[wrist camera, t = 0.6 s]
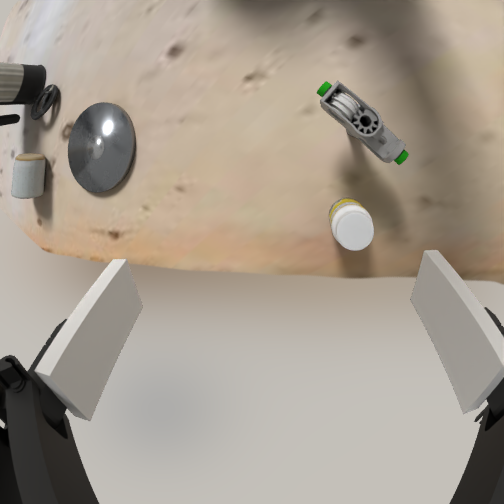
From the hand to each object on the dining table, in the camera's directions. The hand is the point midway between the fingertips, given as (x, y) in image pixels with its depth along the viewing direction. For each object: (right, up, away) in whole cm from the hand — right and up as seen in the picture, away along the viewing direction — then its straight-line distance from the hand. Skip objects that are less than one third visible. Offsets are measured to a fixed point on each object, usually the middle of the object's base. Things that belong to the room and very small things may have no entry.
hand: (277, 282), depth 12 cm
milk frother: (-44, +35, +26) cm, 62 cm away
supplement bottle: (+11, +6, +23) cm, 26 cm away
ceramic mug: (-45, +18, +32) cm, 59 cm away
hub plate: (-26, +18, +27) cm, 42 cm away
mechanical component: (+11, +16, +19) cm, 28 cm away
